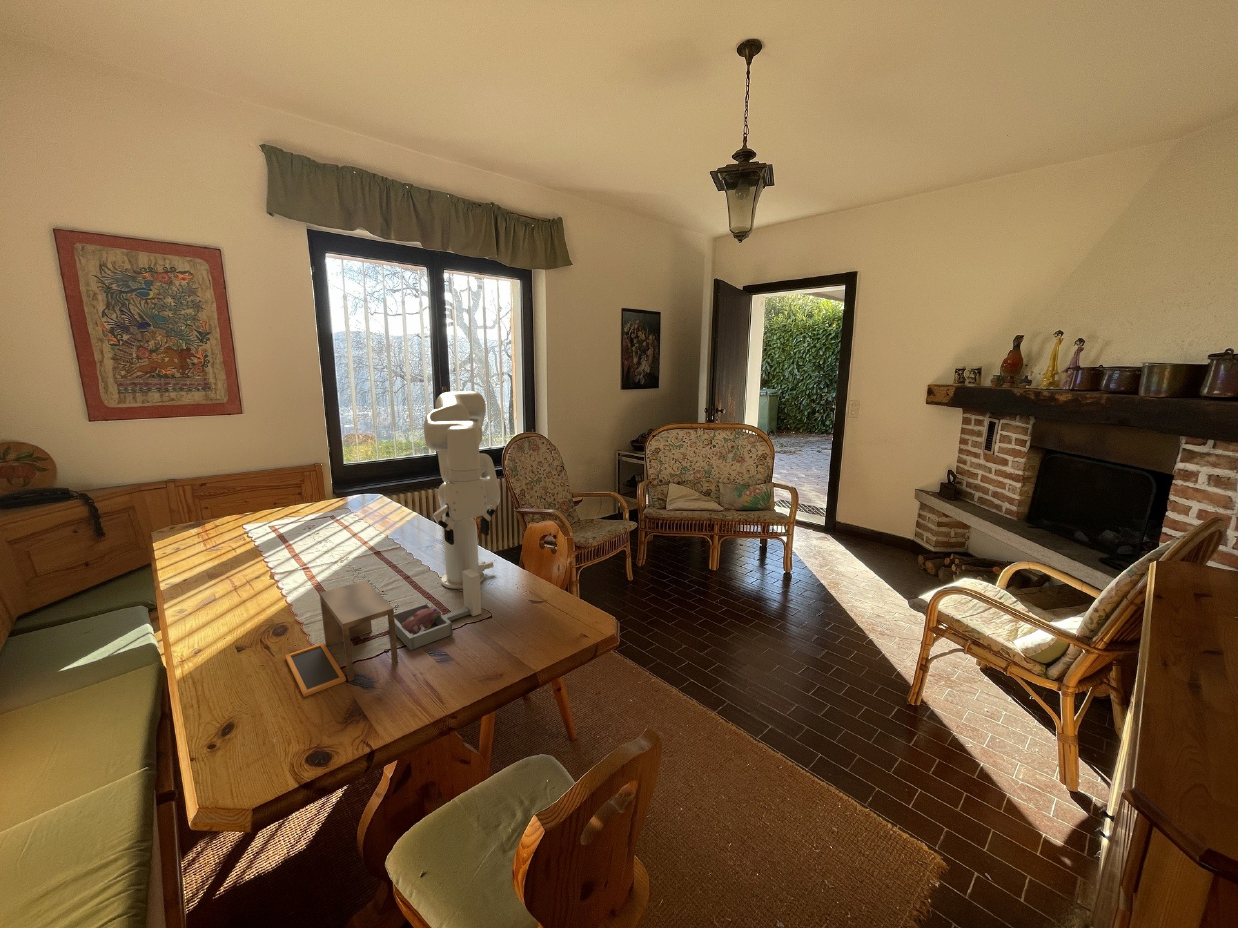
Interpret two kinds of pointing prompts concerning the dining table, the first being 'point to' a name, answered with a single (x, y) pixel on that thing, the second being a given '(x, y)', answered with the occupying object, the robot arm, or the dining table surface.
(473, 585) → the grey drawer with handle
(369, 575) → the dining table surface
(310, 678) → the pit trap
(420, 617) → the video game controller
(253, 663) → the dining table surface
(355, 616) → the brown wooden stand
